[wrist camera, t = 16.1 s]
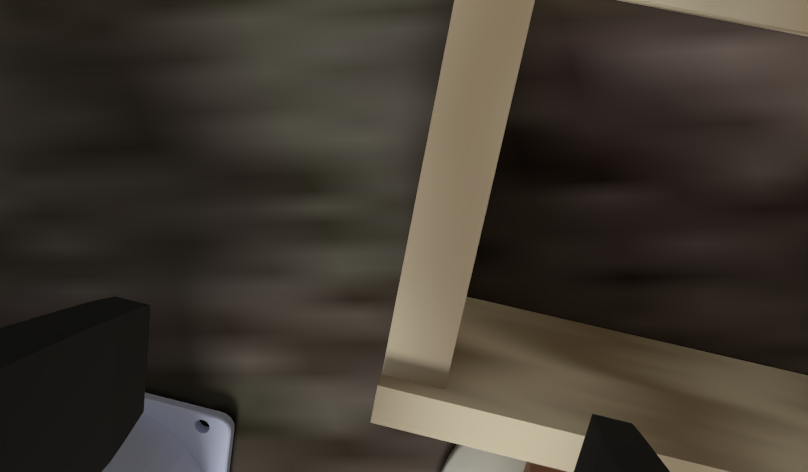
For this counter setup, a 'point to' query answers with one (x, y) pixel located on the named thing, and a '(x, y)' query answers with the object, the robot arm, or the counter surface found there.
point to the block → (539, 468)
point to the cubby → (546, 335)
